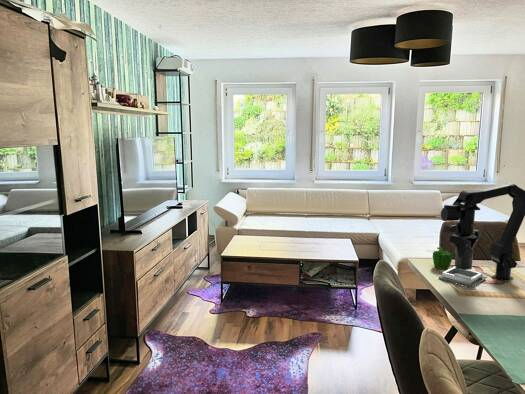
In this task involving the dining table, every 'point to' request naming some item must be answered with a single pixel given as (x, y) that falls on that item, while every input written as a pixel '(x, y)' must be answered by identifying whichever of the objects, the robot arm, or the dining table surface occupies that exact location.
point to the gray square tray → (462, 277)
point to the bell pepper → (442, 259)
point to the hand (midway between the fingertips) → (464, 255)
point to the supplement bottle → (464, 258)
